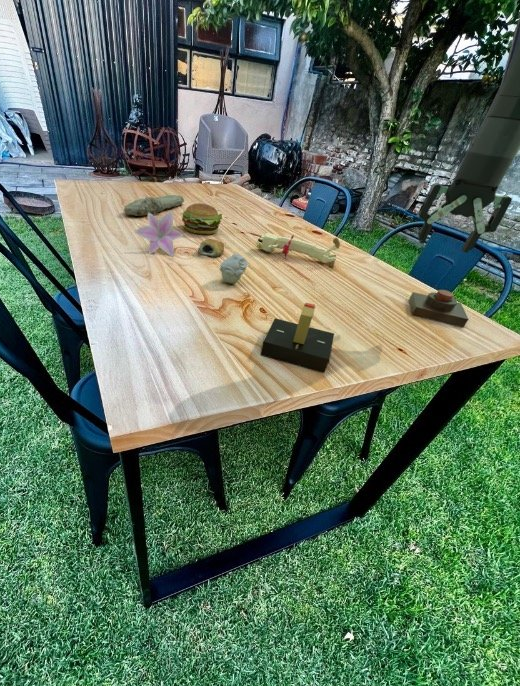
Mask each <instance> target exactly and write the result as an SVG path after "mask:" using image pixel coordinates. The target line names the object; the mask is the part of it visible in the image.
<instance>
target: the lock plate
mask: <svg viewBox="0 0 520 686" xmlns="http://www.w3.org/2000/svg"><path fill="white" fill-rule="evenodd" d="M297 326H298V323H296V322H291V321H287V320H285V319H280V318H276V317H275V318H274V319H273V321H272V323H271V325H270V327H269V329H268V331H267V333H266V335H265V337H264V339H263V342H262V345H261V350H260V356H263V357H266V358H270V359H274V360H277V361H281V362H284V363H287V364H292V365H294V366H298V367H301V368H305V369H309V370H313V371H316V372H320V373H325V372H326V370H327V368H328V365H329V362H330V359H331V355H332V354H331V353H332V348H333V342H334V337H335V333H334V332H330V331H326V330H323V329H318V328H315V327H311V326H309V329H308V333H307V336H306V339H305V342H304V344H300V343H296V342H293V340H294V337H295V333H296V330H297Z"/></svg>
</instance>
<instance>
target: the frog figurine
mask: <svg viewBox="0 0 520 686" xmlns="http://www.w3.org/2000/svg"><path fill="white" fill-rule="evenodd" d="M247 267H248V260H247V259H246V258H245V257H244V256H243V255H242V254H239V253H233V254H232V255H231V256H227V258H226V259H224V260H223V261H222V262H221V263H220V267H219V271H220V272H221V278H222V279H223V281H224V283H227V284H231V285H233V284H236V283H238V281H240V280H241V277H242V275H244V273H245V271H246V270H247Z"/></svg>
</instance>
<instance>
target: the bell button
mask: <svg viewBox="0 0 520 686" xmlns="http://www.w3.org/2000/svg"><path fill="white" fill-rule="evenodd" d="M436 293H437V294H436V295H435V298H437V299H439V300H441V301H445V302H450V301H451V299H452V298H454V296H455V294H454V293H453V292H451V291H449V290H446V289H438V290H437V292H436Z"/></svg>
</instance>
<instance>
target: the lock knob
mask: <svg viewBox="0 0 520 686" xmlns="http://www.w3.org/2000/svg"><path fill="white" fill-rule="evenodd" d="M315 310H316V304H313V303H309V302H304V304H303V307H302V309H301V313H300V316H299V319H298V323H297V324H298V326H297V330H296V333H295V337H294V340H293V342H296V343H300V344H304V342H305V339H306V336H307V333H308V329H309V327H311V323H312V320H313V316H314V313H315Z"/></svg>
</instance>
